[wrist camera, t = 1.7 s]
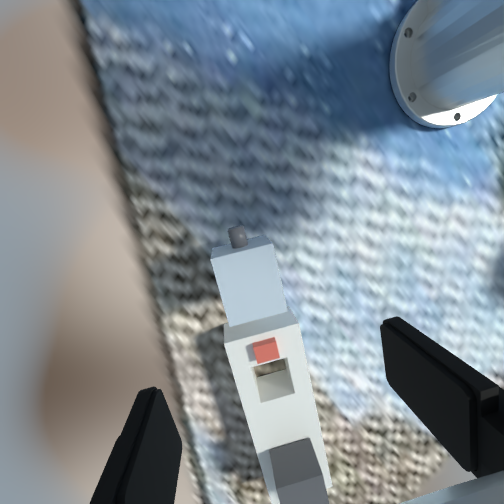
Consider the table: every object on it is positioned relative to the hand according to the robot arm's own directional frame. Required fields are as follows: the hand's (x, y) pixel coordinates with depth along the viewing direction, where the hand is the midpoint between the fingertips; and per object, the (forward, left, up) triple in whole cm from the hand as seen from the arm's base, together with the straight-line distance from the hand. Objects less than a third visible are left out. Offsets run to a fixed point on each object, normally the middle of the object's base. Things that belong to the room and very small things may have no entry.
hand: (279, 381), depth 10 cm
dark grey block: (+25, 0, -19) cm, 31 cm away
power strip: (+19, 0, -19) cm, 26 cm away
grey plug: (0, 0, -19) cm, 19 cm away
